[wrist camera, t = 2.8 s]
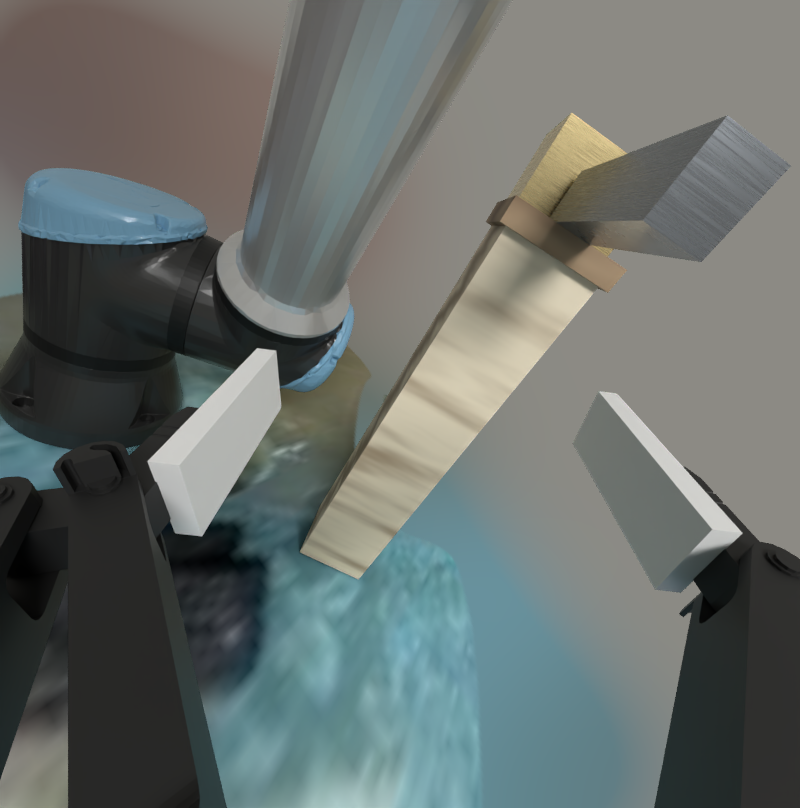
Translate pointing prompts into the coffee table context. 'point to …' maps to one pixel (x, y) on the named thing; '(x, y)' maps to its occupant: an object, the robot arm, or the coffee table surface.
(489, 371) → the pedestal
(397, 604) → the coffee table surface
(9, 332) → the coffee table surface
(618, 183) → the bar
